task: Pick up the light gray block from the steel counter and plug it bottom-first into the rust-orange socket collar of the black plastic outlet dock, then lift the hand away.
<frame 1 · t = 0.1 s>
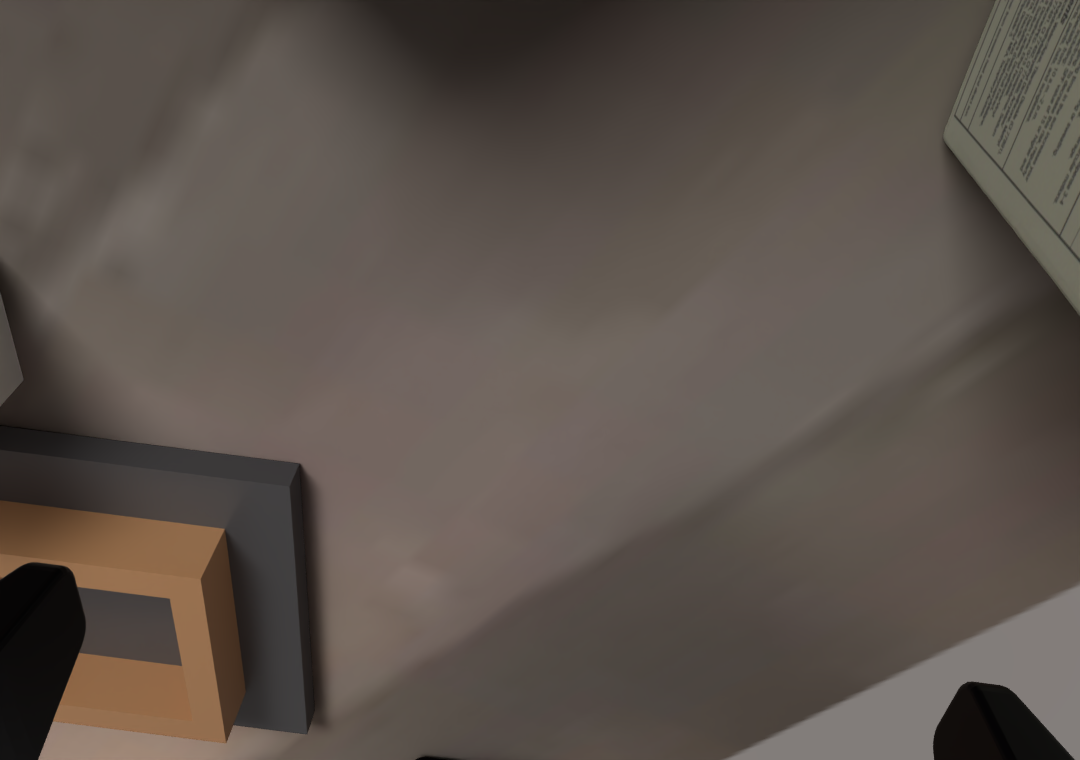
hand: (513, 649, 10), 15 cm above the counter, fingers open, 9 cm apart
dock: (127, 577, 32), on the counter
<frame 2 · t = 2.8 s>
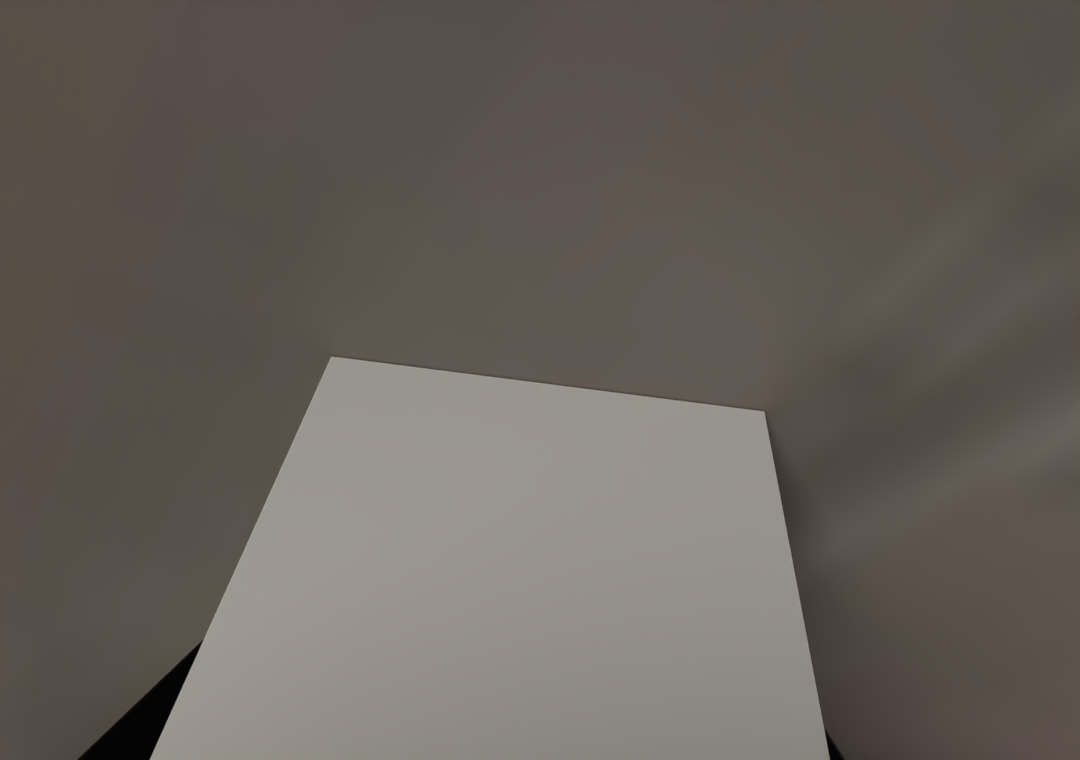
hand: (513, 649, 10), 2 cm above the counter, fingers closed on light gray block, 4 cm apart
light gray block: (527, 538, 11), on the counter, touching gripper
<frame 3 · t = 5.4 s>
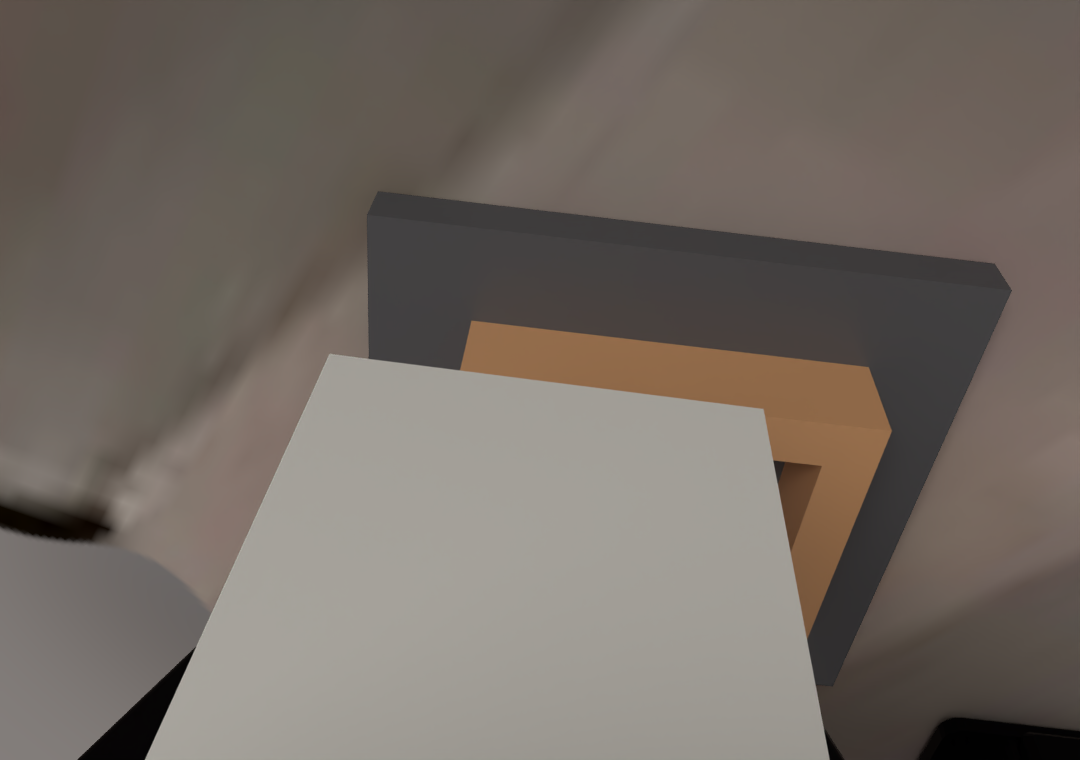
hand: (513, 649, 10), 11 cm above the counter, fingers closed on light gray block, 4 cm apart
dock: (638, 460, 22), on the counter
light gray block: (526, 536, 11), point 9 cm above the counter, touching gripper
when the fingers open (4 cm above the counter, at t = 8.4 s): light gray block drops 1 cm, resting on dock.
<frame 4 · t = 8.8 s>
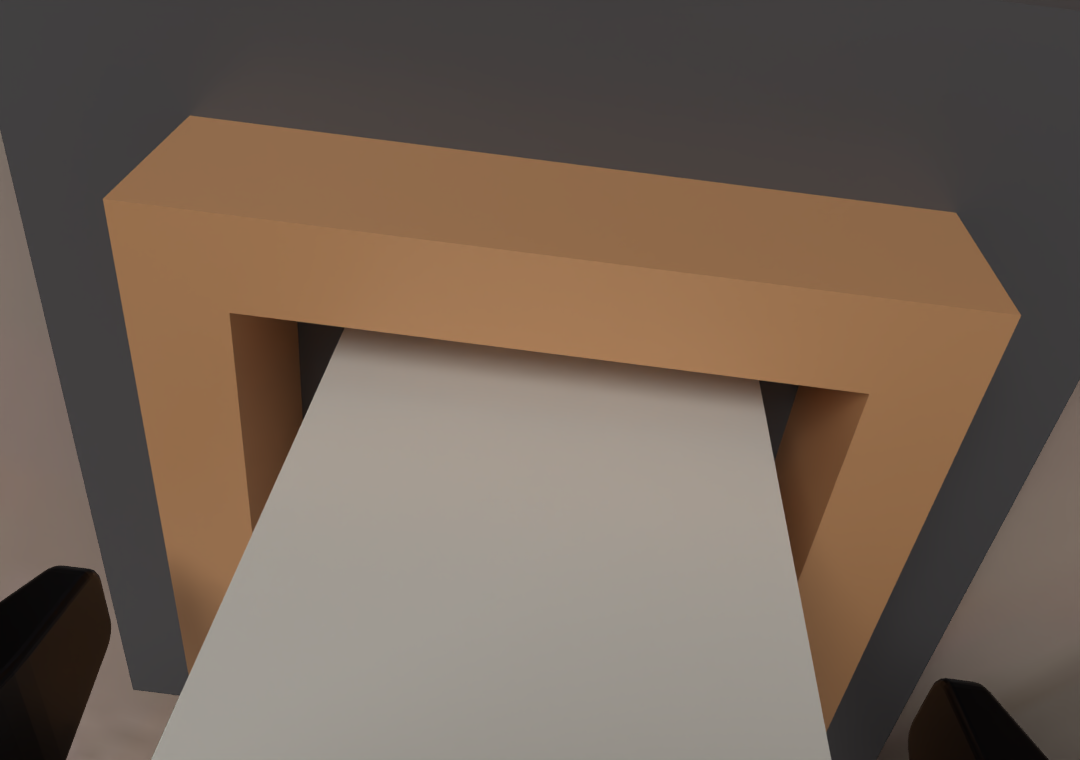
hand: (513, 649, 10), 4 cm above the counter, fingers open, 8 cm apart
dock: (540, 409, 13), on the counter
light gray block: (537, 457, 12), point 1 cm above the counter, touching dock
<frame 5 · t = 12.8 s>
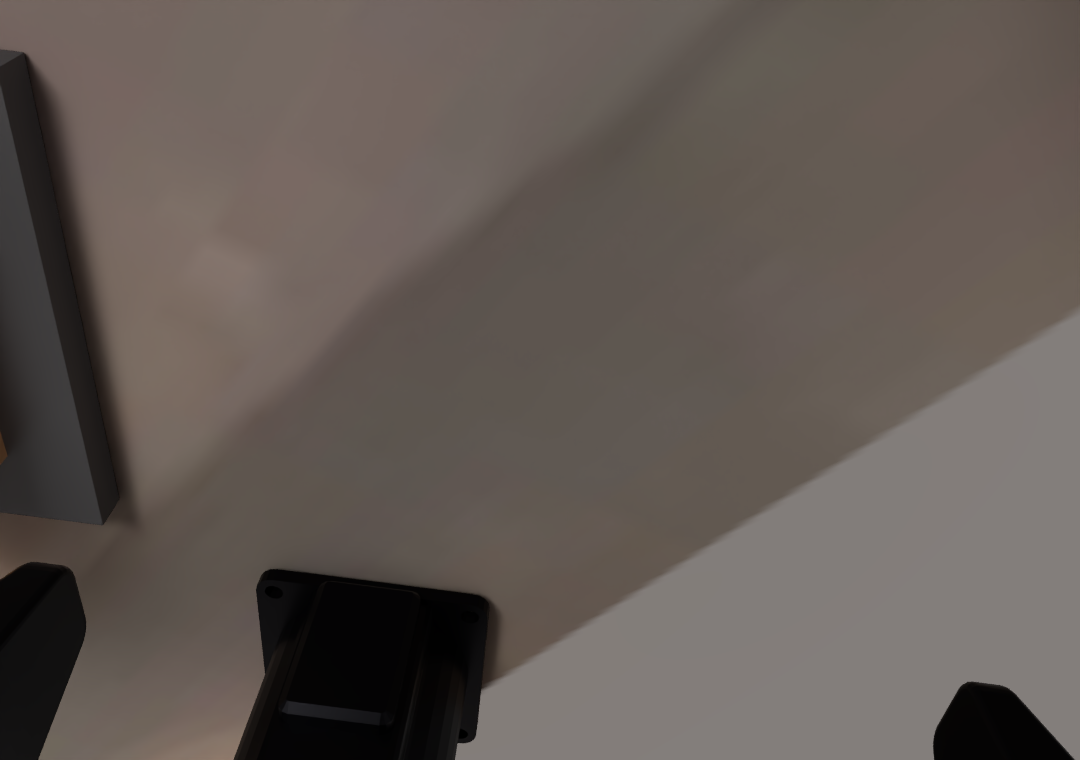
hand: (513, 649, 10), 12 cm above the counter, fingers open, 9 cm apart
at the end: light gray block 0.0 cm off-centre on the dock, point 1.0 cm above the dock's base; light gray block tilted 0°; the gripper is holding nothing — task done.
